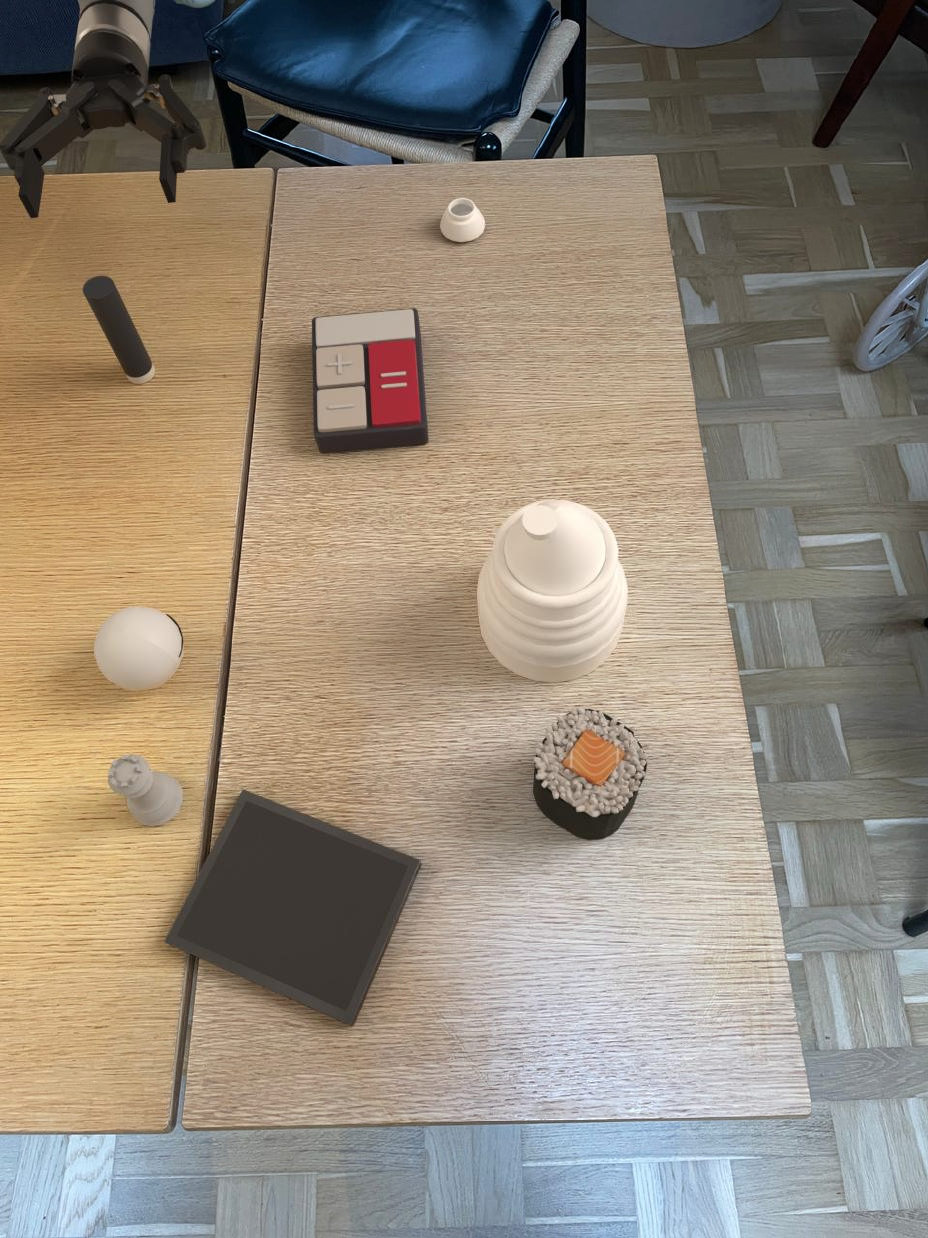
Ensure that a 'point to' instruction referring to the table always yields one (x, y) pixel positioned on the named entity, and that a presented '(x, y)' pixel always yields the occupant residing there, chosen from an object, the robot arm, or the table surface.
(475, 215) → the lidless jar
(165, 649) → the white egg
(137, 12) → the robot arm
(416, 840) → the table surface
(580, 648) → the honey pot
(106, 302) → the marker
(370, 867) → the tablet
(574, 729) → the sushi
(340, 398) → the calculator
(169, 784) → the rook chess piece
